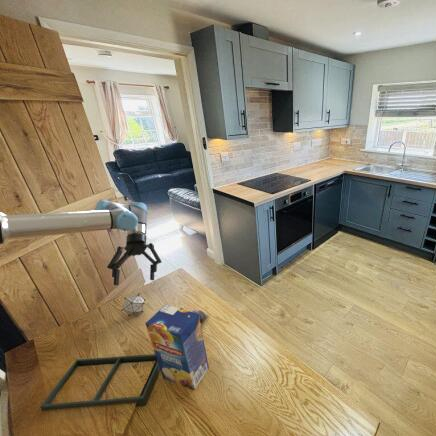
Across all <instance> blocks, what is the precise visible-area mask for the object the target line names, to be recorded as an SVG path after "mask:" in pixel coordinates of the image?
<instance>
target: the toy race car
mask: <svg viewBox="0 0 436 436" xmlns="http://www.w3.org/2000/svg"><path fill="white" fill-rule="evenodd" d="M179 308H180V309H183V310H185V309H184V308H183V307H179ZM191 312H194V313H197V314H199V319H200V324H201V325H202V324H203V323H204V322H205V321H206V320H207V314H206V313H205V312H204V311H202V310H199V309H198V310H197V311H196V310H192V311H191Z"/></svg>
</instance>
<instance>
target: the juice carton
mask: <svg viewBox="0 0 436 436" xmlns="http://www.w3.org/2000/svg"><path fill="white" fill-rule="evenodd" d="M180 308H181V307H176V306H173V305H170V304H165V305H163V306H162V307H161V308H160V309H158V311H157V312H156V313H155V314H154V315H152V316H151V318H149V319H148V320H147V321H145V326H146V330H147V333H148V336H149V339H150V342H151V345H152V348H153V352H154V354H155V355H156V358H157V361H158V364H159V367H160V370H161V371H160V374H161V376H162V378H163V380H167V381H168V382H172V383H174V384H175V385H176V384H177V385H180V386H182V387H184V388H187V389H189V390H192V391H195V390H196V388H197V387H198V385H199V384H200V382H201V381H202V379H203V377H204V376H205V375H206V373H207V371H208V370H209V368H210V367H209V366H210V365H209V361H208V355H207V351H206V346H205V345H206V344H205V340H204V336H203V335H204V334H203V330H202V323H201V324H200V319H199V314H197V313H194V312H192V311H191V310H187V309H184V308H183V309H184V310H183V309H180Z"/></svg>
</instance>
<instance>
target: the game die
mask: <svg viewBox="0 0 436 436" xmlns="http://www.w3.org/2000/svg"><path fill="white" fill-rule="evenodd" d="M123 297H124V296H123ZM124 299H125V300H124V303H123V305H122V309H120V312H122V311H123V312H125V313H126V314H128V317H130V316H131V315H135V314H137V313H144V310H143V308H144V305H145V304H146V303H145V301H146V300H147V299H146V298H143V297H142V296H140V292H139V293H137V294H136V295H133V296H129V297H124Z"/></svg>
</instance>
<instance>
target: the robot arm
mask: <svg viewBox="0 0 436 436" xmlns="http://www.w3.org/2000/svg"><path fill="white" fill-rule="evenodd" d="M147 221H148V207H147V205H146V204H145V203H143V202H142V201H141V202H140V201H138V202H137V201H133V202H130V203H128V204H123V203H118V202H113V201H111V200H105V199H101V200H99V201H97V203H96V204H95V208H94V210H85V211H83V210H82V211H81V210H80V211H60V212H59V211H58V212H41V213H40V212H39V213H19V214H18V213H17V214H6V213H3V212H2V211H0V245H4V244H6V243H7V242H8V241H10V240H18V239H28V238H29V239H30V238H38V237H50V236H60V235H68V234H78V233H90V232H98V231H107V230H121V231H124V232H126V238H125V239H126V242H125V246H119V245H118V246H117V248H116V252H115V253H114V255H113V257H112V258H111V259H110V261H109V263H108V264H107V266H106V268H107V269H109V270H111V277H112V278H113V286H120V271H121V270H120V269H119V268H120V267H121V266H122V265H123V264H124V263H125V262H126V261H127V260H128V259H129V258H130V257H135V256H142V255H143V256H144V257H145V258H146V259H147V260H148V261H149V262H150V263H151V264H149V265H150V268H149V269H150V270H149V278H150V279H149V280H150V281H155V273H156V272H157V271H158V265H159V264H162V259H161V258H160V256H159V254H158V252H157V251H156V249H155V244H154V243H152V242H150V243H148V244H147V223H148V222H147ZM147 249H149V250H150V252H151V253H152V255H153V257H154V258H153V257H151V255H150V254H148V253H147V252H146V250H147ZM122 254H123V255H122Z"/></svg>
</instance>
